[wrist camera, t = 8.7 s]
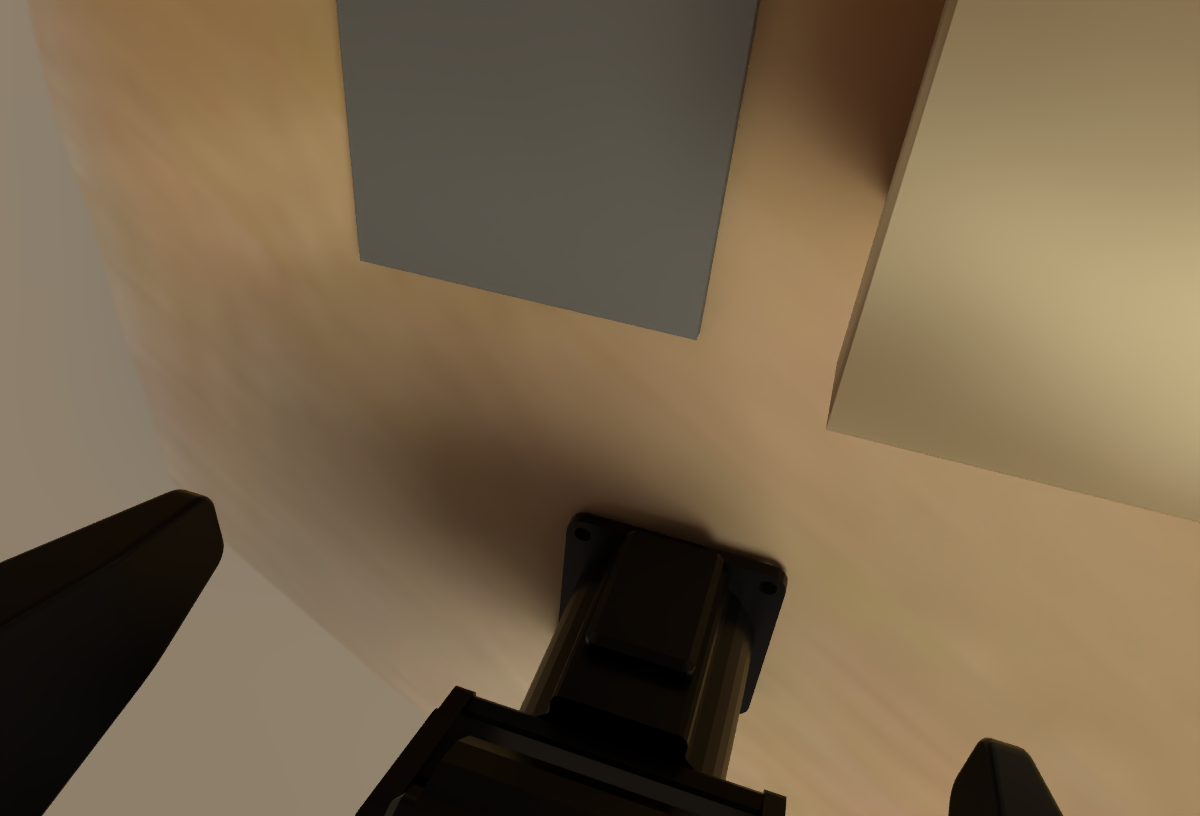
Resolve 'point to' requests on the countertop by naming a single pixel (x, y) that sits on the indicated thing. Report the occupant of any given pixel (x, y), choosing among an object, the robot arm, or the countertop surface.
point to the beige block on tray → (1043, 255)
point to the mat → (548, 145)
